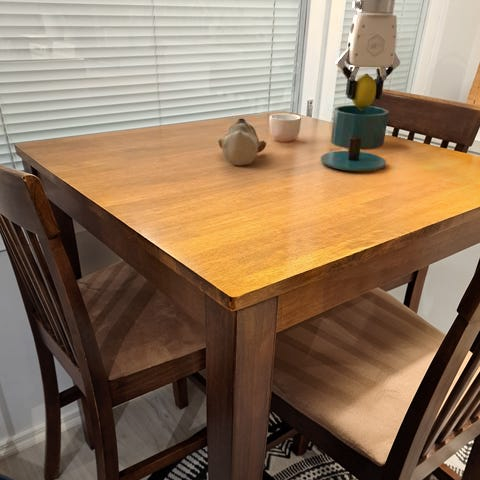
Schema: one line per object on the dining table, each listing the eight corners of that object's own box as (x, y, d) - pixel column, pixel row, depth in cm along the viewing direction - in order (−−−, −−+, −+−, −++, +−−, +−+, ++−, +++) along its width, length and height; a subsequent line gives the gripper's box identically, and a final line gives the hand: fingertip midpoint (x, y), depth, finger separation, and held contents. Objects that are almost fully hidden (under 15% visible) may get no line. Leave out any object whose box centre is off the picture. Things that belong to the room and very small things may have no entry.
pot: (370, 135, 128) (375, 104, 124) (391, 148, 118) (397, 114, 113) (324, 137, 126) (327, 105, 122) (341, 150, 116) (345, 115, 111)
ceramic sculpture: (212, 122, 97) (220, 112, 110) (212, 167, 101) (219, 152, 114) (266, 124, 97) (268, 114, 110) (264, 169, 101) (265, 154, 114)
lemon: (365, 108, 121) (370, 71, 116) (377, 112, 116) (383, 74, 112) (345, 109, 119) (349, 72, 115) (356, 113, 115) (362, 75, 110)
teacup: (300, 143, 120) (302, 120, 117) (268, 143, 120) (269, 119, 117) (297, 134, 128) (299, 112, 125) (267, 133, 128) (268, 111, 125)
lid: (369, 154, 112) (373, 129, 109) (396, 172, 101) (401, 144, 98) (312, 157, 110) (314, 130, 107) (332, 175, 99) (336, 146, 96)
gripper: (344, 7, 102) (333, 101, 112) (421, 8, 105) (404, 100, 114) (331, 6, 108) (323, 96, 118) (405, 7, 111) (390, 95, 121)
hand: (363, 97), depth 116 cm, fingers closed on lemon, 5 cm apart
